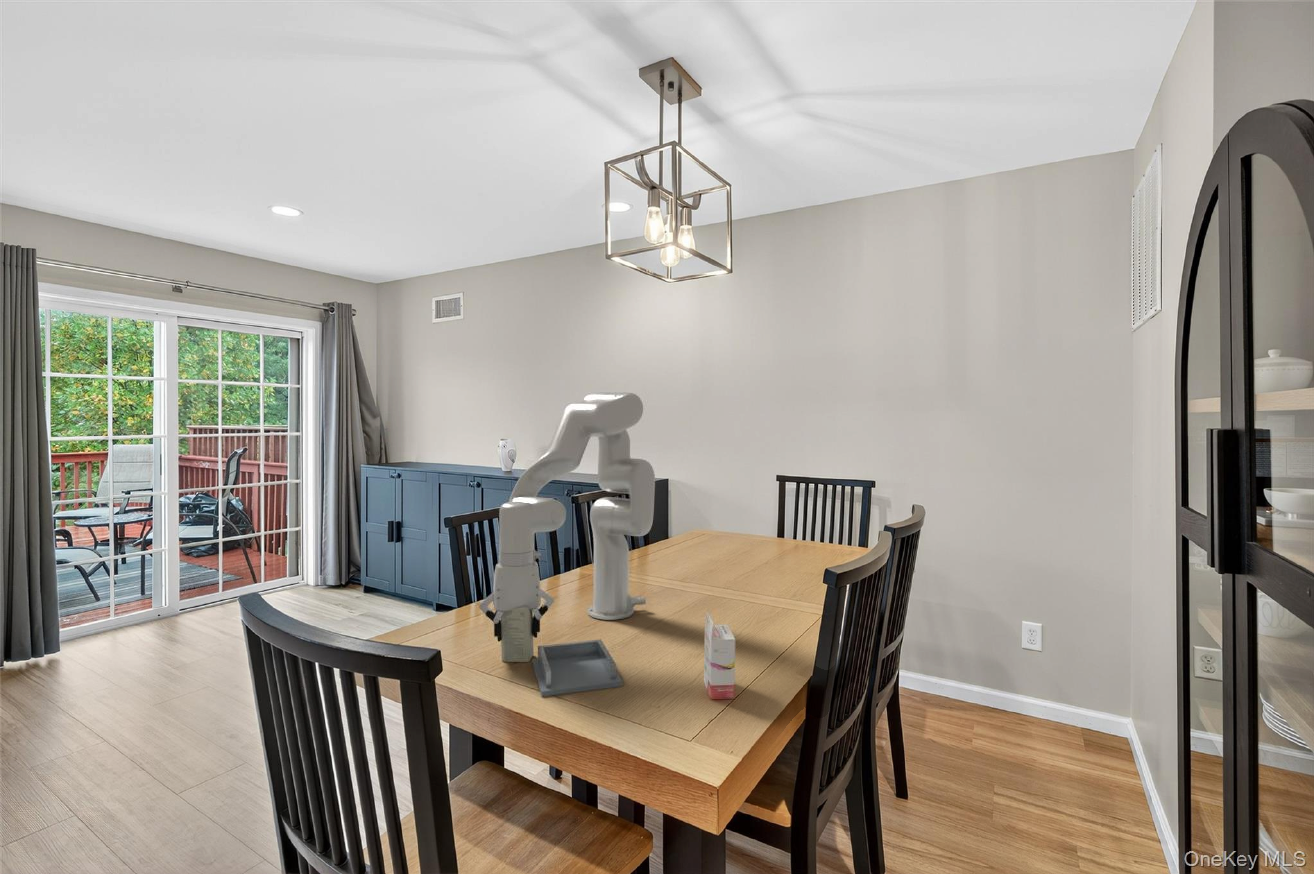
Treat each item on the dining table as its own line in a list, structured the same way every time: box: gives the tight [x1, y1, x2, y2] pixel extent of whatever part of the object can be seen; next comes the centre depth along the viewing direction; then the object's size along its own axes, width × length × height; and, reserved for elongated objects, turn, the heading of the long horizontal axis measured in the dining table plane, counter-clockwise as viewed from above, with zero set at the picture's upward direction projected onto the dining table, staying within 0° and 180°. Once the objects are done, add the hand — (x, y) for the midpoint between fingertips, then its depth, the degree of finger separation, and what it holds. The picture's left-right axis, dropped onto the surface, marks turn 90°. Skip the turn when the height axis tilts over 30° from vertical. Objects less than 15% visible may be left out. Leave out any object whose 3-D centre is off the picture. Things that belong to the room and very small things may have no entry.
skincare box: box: [500, 607, 534, 663], centre depth 136 cm, size 6×4×12 cm
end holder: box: [532, 639, 623, 697], centre depth 128 cm, size 16×16×4 cm
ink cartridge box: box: [703, 611, 736, 700], centre depth 121 cm, size 9×5×15 cm, turn 5°
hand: (517, 636), depth 136 cm, fingers closed on skincare box, 7 cm apart
